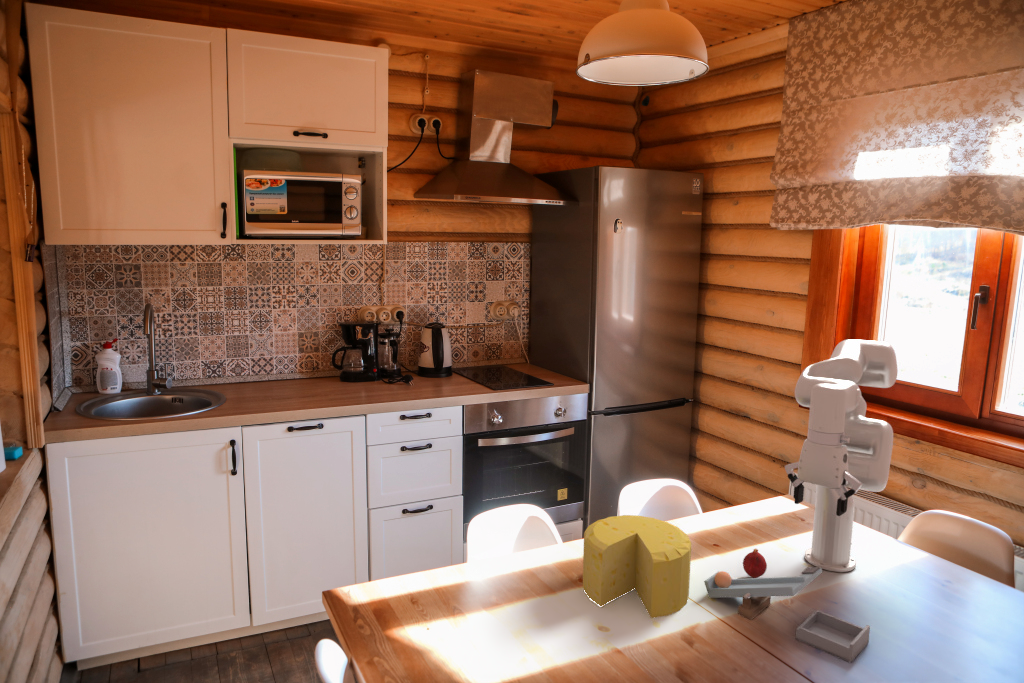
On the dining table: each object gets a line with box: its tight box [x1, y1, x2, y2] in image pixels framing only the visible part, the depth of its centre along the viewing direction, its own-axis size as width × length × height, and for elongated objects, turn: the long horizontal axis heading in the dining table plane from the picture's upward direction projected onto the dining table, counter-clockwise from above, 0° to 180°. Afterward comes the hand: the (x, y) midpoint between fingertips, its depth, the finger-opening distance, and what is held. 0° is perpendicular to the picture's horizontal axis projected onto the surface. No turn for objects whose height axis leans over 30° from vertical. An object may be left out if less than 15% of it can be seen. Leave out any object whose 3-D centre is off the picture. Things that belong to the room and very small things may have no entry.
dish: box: [795, 610, 871, 664], centre depth 148 cm, size 10×12×4 cm
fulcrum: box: [737, 597, 772, 621], centre depth 160 cm, size 10×3×4 cm, turn 134°
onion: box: [742, 548, 768, 578], centre depth 175 cm, size 6×6×8 cm
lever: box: [703, 566, 823, 599], centre depth 163 cm, size 18×22×4 cm
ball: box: [715, 570, 732, 588], centre depth 166 cm, size 4×4×4 cm
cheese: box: [582, 514, 692, 619], centre depth 168 cm, size 26×26×15 cm
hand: (819, 508), depth 159 cm, fingers open, 9 cm apart
